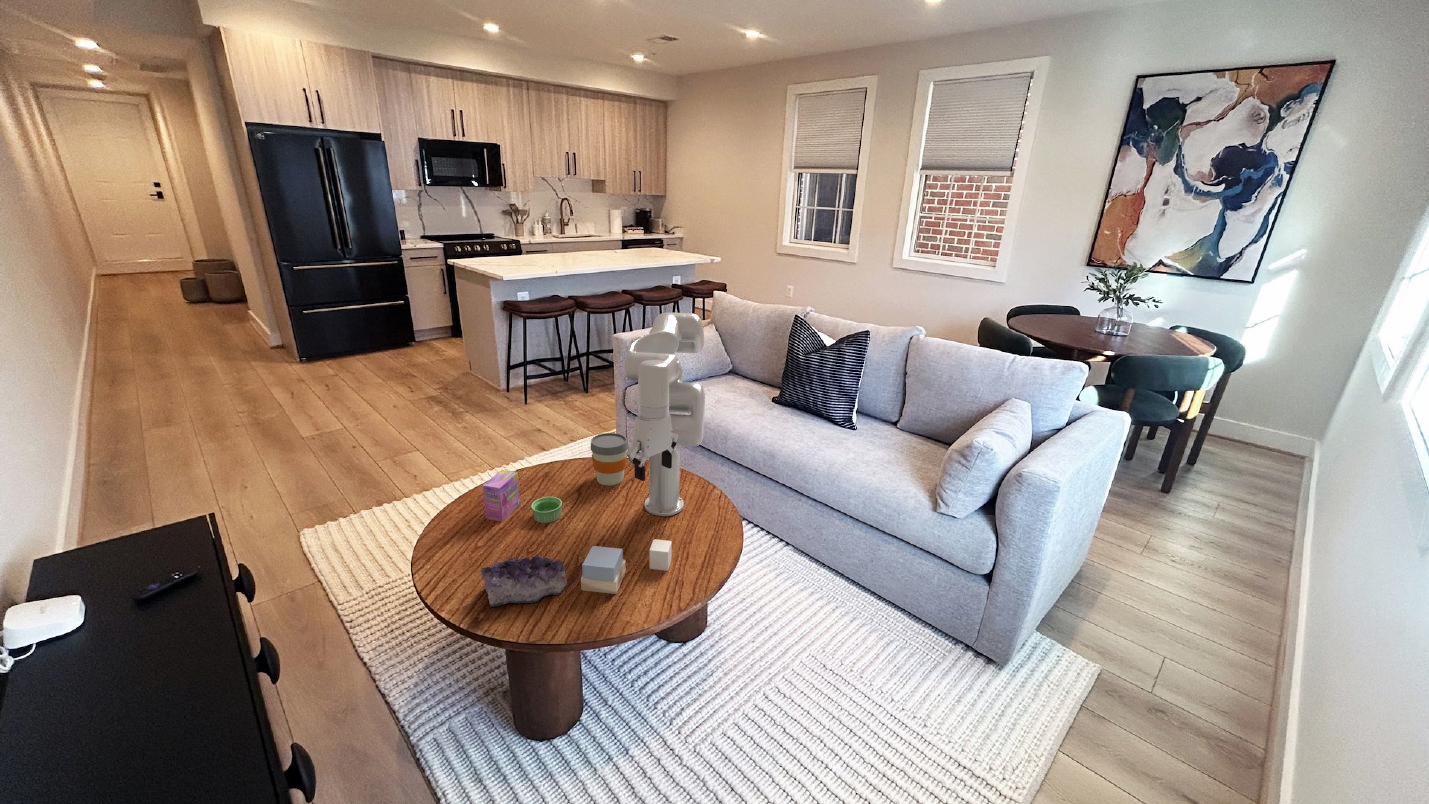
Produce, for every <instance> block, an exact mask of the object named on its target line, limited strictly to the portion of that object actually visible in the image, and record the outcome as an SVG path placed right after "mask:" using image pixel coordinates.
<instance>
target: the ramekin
mask: <svg viewBox="0 0 1429 804" xmlns="http://www.w3.org/2000/svg"><path fill="white" fill-rule="evenodd" d="M562 504H563V501H562V500H561V499H560V498H558V497H557V496H556V497H555V496H542V497H539V498H537V499H535V500H534V501H533V502H532V503H531V506H530V507H531V508H530V509H531V511H532V515H533V519H534V520H535V522H538V523H539V524H540V523H541V524H549V523H553V522H556V521H557V520H559V519H560V518H561V516H562V506H563V505H562Z"/></svg>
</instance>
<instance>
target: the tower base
mask: <svg viewBox="0 0 1429 804" xmlns="http://www.w3.org/2000/svg"><path fill="white" fill-rule="evenodd" d="M626 563H627V562H626V559H623V563H622V565H621V567H620V569H619V572H618V574H617V576H616V579H615V581H614V582H613V581H604V580H595V579H586V578H583V574H582V575H581V577H580V585H581V586H580V588H581V589H580V590H581V591H584V592H585V591H587V592H593V593H594V592H596V593H604V594H611V595H613V594H614V595H617V594H618V591H619V589H620V586H621V584H622V581H623V579H624V577H625V574H626V572H627V569H626Z"/></svg>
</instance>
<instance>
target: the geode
mask: <svg viewBox="0 0 1429 804" xmlns="http://www.w3.org/2000/svg"><path fill="white" fill-rule="evenodd" d="M480 575H481V576H482V579H483V587H484V589H485V592H486V594H487V595H488V596H487V598H488V601H489V607H491V608H492V607H494V608H495V607H500V606H503V605H507V604H510V603H512V604H522V603H526V604H533V603H534V604H535V603H538V602H539V601H540V600H542V599H543V598H544V597H548V596H551V595H553V596H560V595H561V594H562V593H563V592H564V591H566V589H567V587H568V582H567V579H566V575H567V574H566V571H565V566H564V563H563V561H562V560H561V559H560V560H559V559H558V560H555V561H554V560H553V559H552V558H548V557H545V556H544V558H543V557H541V556H539V554H538V553H537V554H535V555H534V556H532V557H531V559H530V558H529V557H524V558H513V557H511V558H509V559H507V560H506V559H505V560H504V561H497V562H495V563H493V565H492V566H486V567H481V568H480Z"/></svg>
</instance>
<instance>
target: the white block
mask: <svg viewBox="0 0 1429 804" xmlns="http://www.w3.org/2000/svg"><path fill="white" fill-rule="evenodd" d="M672 543H673V540H664V539H655V538H654V539H653V540H652V542H651V545H650V548H649V569H650V570H659V571H664V572H665V571H667V572H668V571H669V568H670V565H671V563H672V549H673V548H672V547H673V544H672Z"/></svg>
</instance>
